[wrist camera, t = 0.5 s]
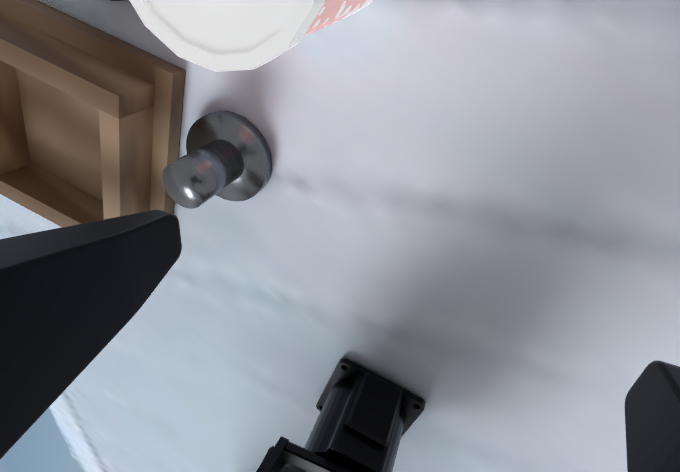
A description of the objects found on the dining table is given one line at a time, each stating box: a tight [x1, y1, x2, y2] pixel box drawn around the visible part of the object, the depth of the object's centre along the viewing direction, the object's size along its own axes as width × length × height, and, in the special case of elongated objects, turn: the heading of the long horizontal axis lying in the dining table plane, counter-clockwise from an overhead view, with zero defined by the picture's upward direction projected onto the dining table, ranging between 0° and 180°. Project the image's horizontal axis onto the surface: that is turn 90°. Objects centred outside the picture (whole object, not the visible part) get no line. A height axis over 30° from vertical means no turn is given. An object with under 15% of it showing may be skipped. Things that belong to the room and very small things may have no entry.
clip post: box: [162, 111, 272, 208], centre depth 22 cm, size 5×5×4 cm
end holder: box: [0, 0, 185, 227], centre depth 25 cm, size 13×13×4 cm
